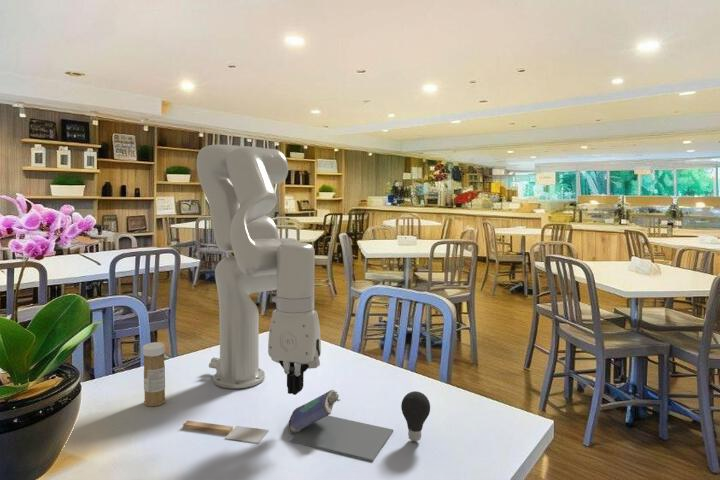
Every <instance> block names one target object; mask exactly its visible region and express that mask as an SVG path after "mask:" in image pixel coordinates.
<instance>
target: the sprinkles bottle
mask: <svg viewBox="0 0 720 480" xmlns="http://www.w3.org/2000/svg"><path fill="white" fill-rule="evenodd" d="M165 352H166V345H165V343H164V342H158V341H157V342H149V343H146V344H144V345H142V356H143V390H144V401H143V403H144V405H145V406H147V407H158V406H161V405H163V404H165V403H166V393H165V392H166V391H165V390H166V366H165Z"/></svg>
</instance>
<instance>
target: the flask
mask: <svg viewBox="0 0 720 480" xmlns="http://www.w3.org/2000/svg"><path fill="white" fill-rule="evenodd" d="M339 397H340V395H339V393H338V391H337V390H334V389H331V390H329V391H326V393H323V394H322V395H319V396H318V397H316V398H314V399H312V400H310V401H309V402H307V403H304V404H303V405H300V406H298V407H296V408H295V409H293V412H292V414H290V418H289V420H288V426H287V427H288V430H289V431H290V432H291V434H297V433H298V432H299V431H300V430H302V429H303V428H305V427H307V426H309V425H311V424H312V423H314V422H316V421H318V420H320V419H322V418H324V417H326V416H331V415H332V410H333V406H334V404H335V403H336V402H340V401H341V399H339Z"/></svg>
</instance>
